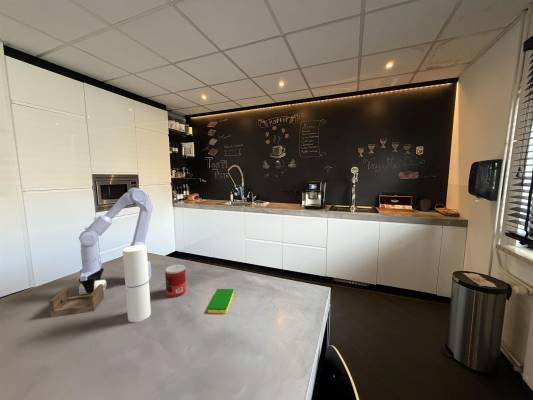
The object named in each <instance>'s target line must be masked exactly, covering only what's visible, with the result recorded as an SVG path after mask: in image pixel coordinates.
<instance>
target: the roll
mask: <svg viewBox="0 0 533 400" xmlns="http://www.w3.org/2000/svg"><path fill="white" fill-rule="evenodd" d="M99 284H103V290H104V292H105V291H106V289H107V281H106V279H101V280H98V281H95V283H94V290H95V289H96V288H97V287H98V285H99ZM78 293H79V296H83V295H90V294H91V293H88V294H87V292H86V290H85V288H84V286H83V285H82V284H81V283H80V285H79V287H78Z"/></svg>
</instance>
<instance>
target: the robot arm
mask: <svg viewBox="0 0 533 400" xmlns="http://www.w3.org/2000/svg"><path fill="white" fill-rule="evenodd" d="M133 204H135V205H136V206H137V207H138V208H139V213H138V217H137V221H136V226H135V230H134V234H133V239H132V241H131V243H130V245H129V246H134V245H145V243H146V238H147V233H148V230H149V225H150V220H151V216H152V211H153V204H152V201H151V199H150V195H149V194H148V193H147V191H146V190H145V189H143V188H138V187H131V188H130V189H128V191H127V192H125V193H123V194H122V196H121V197H120V198H118V200H117V201H116V202H115V203H114V204H112V206H111V207H110V209H109V210H108V211H107V212H106V213H105V214H104V215H99V216H98V217H97V216H96V217H94V219H93V221H92V223H91V224H90V225H89V226H88V227H85V228H84V231H82V232H81V233H80V234H79V237H78V240H79V243H80V258H81V268H82V269H79V271H78V272H79V273H81V274H80V276H79V278H78V282H79V283H80V284H82V285H83V286H84V288H85V290H86V292H87V294H86V295H89V294H88V293H92V292H93V291H94V283H95V281H98V280H102V275H103V273H104V270H105V269H104V267H102V265H103V264H102V261H100V254H99V247H98V242H99V237H101V236H103V234H104V233H105V232H106V231H107V230H108V229H109V228H110V226H112V224H113V219H115V217H116V216H117V215H118V214H119V213H120V212H121V211H122V210H123V209H124V208H125V207H126V206H129V205H133ZM145 246H146V245H145ZM148 276H149V281H150V280H151V278H152V265H151V261H150V260H148Z"/></svg>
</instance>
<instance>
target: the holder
mask: <svg viewBox="0 0 533 400" xmlns="http://www.w3.org/2000/svg"><path fill="white" fill-rule="evenodd" d="M104 299H105V291H104V290H103V284H99V285H98V287H97V288H96V289H95V290H94V291H93V292H92V293H91V294H84V295H75V296H70V295H69V289H68V287H67V288H63V289H62V290H60V292H59V293H57V294H55V295H54V296H53V297H52V298H51V299H49V301H48V303H49V312H50V318H54V317H62V316H68V315H75V314H82V313H88V312H95V310H96V309H97V307H98V306H99V305H100V304H101V303H102V301H103V300H104Z"/></svg>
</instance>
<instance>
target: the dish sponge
mask: <svg viewBox="0 0 533 400" xmlns="http://www.w3.org/2000/svg"><path fill="white" fill-rule="evenodd" d="M234 295H235V291H234V288H217V289H216V290H215V293H214V295H213V296H212V299H211V300H210V302H209V304H208V306H207V314H220V315H221V314H222V315H223V314H227V313H228V310H229V308H230V306H231V303H232V300H233V297H234Z"/></svg>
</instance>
